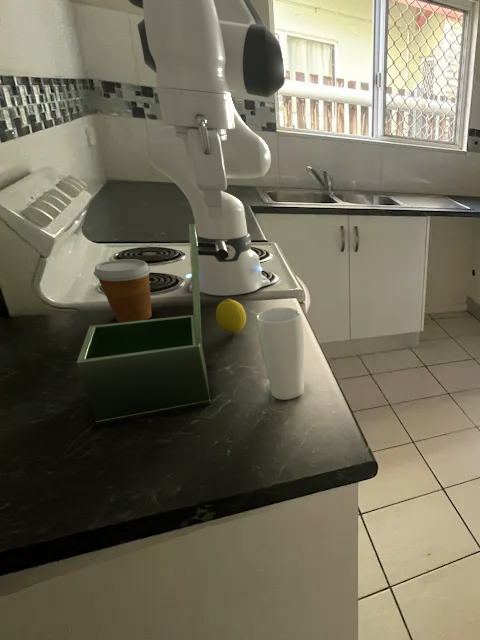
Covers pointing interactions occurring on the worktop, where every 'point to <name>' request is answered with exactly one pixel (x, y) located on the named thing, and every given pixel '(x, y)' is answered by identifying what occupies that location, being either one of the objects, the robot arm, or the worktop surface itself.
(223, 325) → the lemon
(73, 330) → the worktop surface
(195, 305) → the lid
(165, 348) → the green tapered box
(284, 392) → the drinking glass
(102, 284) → the disposable coffee cup
